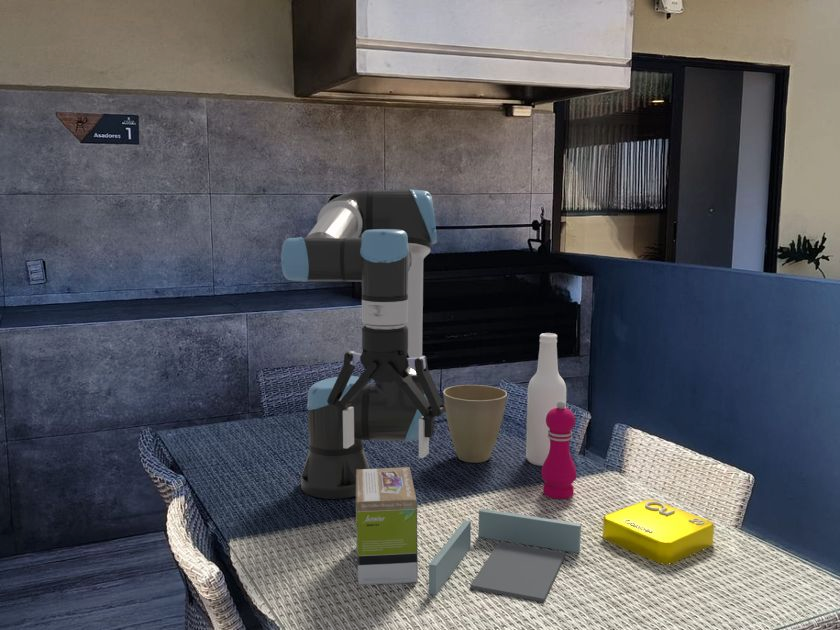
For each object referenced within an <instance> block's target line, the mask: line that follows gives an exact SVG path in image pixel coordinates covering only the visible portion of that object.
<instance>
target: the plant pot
mask: <svg viewBox="0 0 840 630" xmlns="http://www.w3.org/2000/svg"><path fill="white" fill-rule="evenodd" d="M442 395H443V403H444V406H445V408H446V411H445V415H446V421H447V425H448V430H449V433H450V437H451V440H452V445H453V447H454V451H455V453H456V455H457V459H459V460H460V461H463V462H466V463H470V464H471V463H474V464H478V463H485V462H487V461H489V459H490V457H491V455H492V453H493V450H494V447H495V445H496V442H497V439H498V437H499V433H500V430H501V427H502V422H503V419H504V413H505V410H506V409H505V408H506V403H507V399H508V398H507V397H508V392H507V391H506V390H504V389H502V388H499V387H496V386H491V385H482V384H461V385H460V384H459V385H454V386H450V387H446V388H445V389H444V390H443V391H442Z"/></svg>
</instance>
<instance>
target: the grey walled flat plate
mask: <svg viewBox="0 0 840 630" xmlns="http://www.w3.org/2000/svg"><path fill="white" fill-rule="evenodd" d="M471 525H472V521H471V520H466V519H465V520H463V521H462V522H461V524H460V525H459V526H458V527H457V529H456V530H455V531H454V533H452V535H451V536H450V538H449V539H448V540H447V541H446V543H445V544H444V545H443V546H442V547H441V548H440V549H439V551H438V552H437V554H436V555H435V556H434V557H433V559H432V560H431V561H430V562H429V564H428V594H429V595H434V596H437V594H438V593H439V592H440V590H441V589H442V588H443V586H444V585H445V583H446V582H447V581H448V579H449V578H450V576H451V575H452V574H453V573H454V571H455V570H456V568H458V566H459V564H460V563H461V562H462V560H463V559H464V557H465V556H466V555H467V553H468V552H469V550H470V549H471V539H472V538H471V536H472V535H471V534H472V533H471V532H472V531H471V530H472V529H471V528H472V526H471ZM581 531H582V523H580V522H579V523H578V522H575V521H574V522H573V521H572V522H571V521H566V520H559V519H555V518H554V519H552V518H546V517H539V516H532V515H528V514H527V515H526V514H519V513H513V512H508V511H507V512H506V511H499V510H493V509H485V508H480V509H479V510H478V537H479V538H483V539H490V540H497V541H500V542H506V543H509V542H510V543H513V544H519V545H525V546H531V547H537V548H543V549H545V548H546V549H549V550H550V549H551V550H555V551H556V550H557V551H562V552H570V553H576V554H580V551H581V535H582V534H581V533H582V532H581Z"/></svg>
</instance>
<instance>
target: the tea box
mask: <svg viewBox="0 0 840 630" xmlns="http://www.w3.org/2000/svg"><path fill="white" fill-rule="evenodd" d="M355 527H356V528H355V530H356V532H355V533H356V559H357V582H358V585H359V586H371V585H375V586H376V585H394V584H397V585H398V584H411V583H412V584H413V583H417V582H418V578H419V573H418V572H419V567H418V566H419V565H418V564H419V563H418V561H419V560H418V559H419V558H418V556H419V555H418V501H417V496H416V491H415V487H414V481H413V477H412V471H411V467H410V466H404V467H384V468H381V467H380V468H370V469H357V470H356V496H355Z"/></svg>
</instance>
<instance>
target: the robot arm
mask: <svg viewBox="0 0 840 630" xmlns="http://www.w3.org/2000/svg"><path fill="white" fill-rule="evenodd" d="M435 217H436V216H435V210H434V201H433V197H432V194H431V193H430V192H429V191H427V190H419V189H412V188H408V189H359V190H358V189H357V190H354V191H353V190H352V191H350V192H347V193H344V194H341V195H339V196H337V197H334V198H333V199H331V200H329V201H328V202H327V203H326V204H324V206H323V207H322V208H321V210H320V211H319V213H318V214H317V218H316V224H315V225H314V226H313V228H312V229H311V231H309V233H308V234H307V236H306V237H302V236H298V237H288V238H286V239H285V240H284V241H283V243H282V246H281V254H280V255H281V257H280V258H281V271H282V275H283V276H284V278H285V279H286V280H288V281H294V282H295V281H297V282H303V283H306V282H361V323H363V324H364V326H362V328H361V347H362V351H361V352H362V353H360V352H358V351H356V350H355V349H352V350H349V351H347V352H345V353H344V357H343V363H342V365H343V366H342V367H341V370H340V372H339V374H338V376H334V377H329V378H325V379H322V380H319V381H317V382H315V383H313V384H312V385H311V386H310V387H309V389H308V392H307V405H306V409H307V434H308V453H307V455H306V456H307V457H306V460H305V463H304V466H303V470H302V472H301V473H302V474H301V476H300V487H301V491H302V492H303V493H304V494H306V495H308V496H311V497H314V498H318V499H319V498H320V499H326V500H327V499H329V500H331V499H332V500H338V499H340V500H341V499H348V498H349V499H350V498H354V497H356V470H357V469H371V468H370V465H369V462H368V458H367V457H366V453H365V450H364V448H365V447H364V443H365V442H364V441H394V442H395V441H396V442H397V441H398V442H405V443H406V442H410V441H418V459H424V458H425V457H427V456H428V455H429V453H430V439H431V438H432V437H433V436H434V435H435V417H440V416H441V415H443V414H444V413H446V408H445V403H444V400H443V399H442V397H441V395H440V393H439V390H438V389H437V386H436V384H435V382H434V379H433V377H432V374H431V373H430V370H429V368H428V367H429V366H428V359H427V357H426V356H425V355H423V317H424V316H423V315H424V314H423V311H424V310H423V307H424V259H425V258H426V257H427V256H428V255H429V254H430V253H431V245H435V244H437V243H438V237H437V236H438V235H437V228H436V219H435ZM359 363H360V364H361V365H362V366H363V368H364V370H363V372H362V373H361V374H360V375H359V376H357V375H356V376H355V375H353V372H354V370H355V369H356V366H357V365H358V364H359ZM371 380H372V381H374V382H373V384H368V383H369V382H370V381H371Z"/></svg>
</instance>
